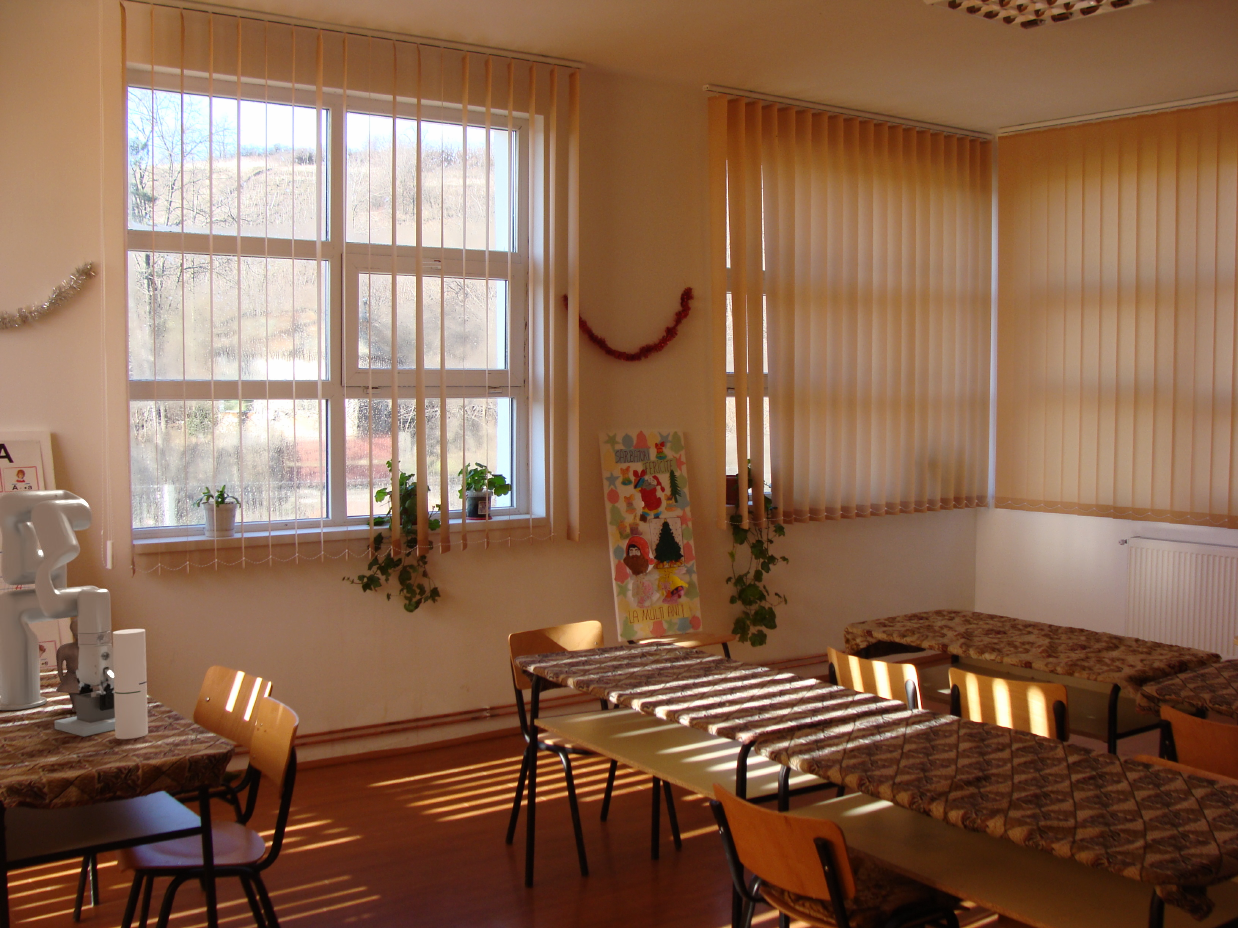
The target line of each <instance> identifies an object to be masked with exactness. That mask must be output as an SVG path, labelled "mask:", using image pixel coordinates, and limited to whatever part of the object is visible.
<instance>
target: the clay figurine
mask: <svg viewBox="0 0 1238 928" xmlns="http://www.w3.org/2000/svg"><path fill="white" fill-rule="evenodd" d="M69 630H70V632H71V633H72V636H73V638H74V639H75V640H74V641H72V642H68V643H65V644H64V643H63V644H62V645H60V646H58V647H57V651H56V655H55V658H56V669H57V675H58V678H59V681H60V683H59V684H58V686H57V687H56V689H55V692H57V693H66V694H68V696H69V699H70V701H71V711H72V712H74V713H77V712H76V695H79V689H78V686H79V684H78V682H77V679H78V678H77V675H76V670H77V669H78V656H79V646H78V618H77V617H74V619H72V620H71V622H70V624H69ZM64 661H65V668H66V673H65V674H64V670H63V669H64V668H63V664H64ZM105 687H106V685H105V686H104V688H105ZM91 688H93V692H96V691H100V689H99V686H94V685H92V686H91Z"/></svg>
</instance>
